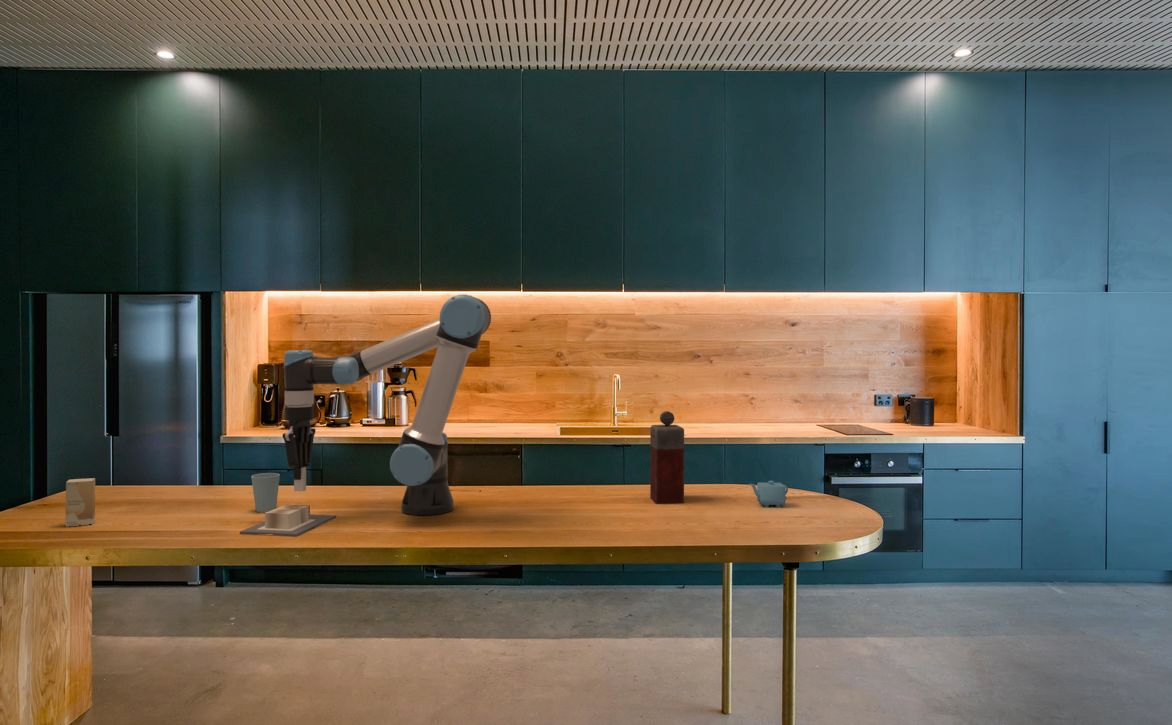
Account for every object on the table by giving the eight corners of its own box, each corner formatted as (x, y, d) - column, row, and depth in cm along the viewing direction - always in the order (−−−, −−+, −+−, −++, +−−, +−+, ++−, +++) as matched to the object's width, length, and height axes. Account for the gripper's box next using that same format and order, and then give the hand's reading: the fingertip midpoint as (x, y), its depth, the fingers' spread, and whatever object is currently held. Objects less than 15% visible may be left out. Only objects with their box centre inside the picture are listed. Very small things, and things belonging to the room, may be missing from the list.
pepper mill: (676, 495, 231) (676, 409, 231) (684, 503, 220) (684, 412, 219) (648, 496, 230) (648, 409, 230) (655, 503, 219) (655, 412, 219)
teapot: (750, 507, 215) (750, 482, 214) (746, 503, 221) (746, 478, 220) (790, 508, 214) (790, 483, 214) (785, 503, 220) (785, 479, 220)
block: (309, 505, 197) (289, 513, 187) (310, 519, 197) (289, 529, 187) (286, 504, 198) (264, 512, 188) (286, 518, 198) (264, 528, 188)
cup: (280, 511, 209) (279, 476, 209) (251, 514, 206) (251, 478, 206) (280, 506, 216) (279, 472, 216) (252, 508, 213) (251, 474, 213)
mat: (336, 517, 202) (336, 515, 202) (296, 536, 183) (296, 533, 183) (284, 515, 205) (284, 513, 205) (239, 533, 185) (239, 531, 185)
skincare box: (65, 527, 191) (64, 482, 191) (68, 523, 195) (67, 479, 195) (94, 524, 194) (93, 480, 194) (96, 521, 198) (95, 477, 198)
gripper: (299, 403, 205) (300, 485, 205) (272, 407, 192) (273, 495, 193) (324, 404, 204) (324, 486, 204) (298, 408, 191) (299, 496, 191)
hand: (300, 490), depth 198 cm, fingers closed
